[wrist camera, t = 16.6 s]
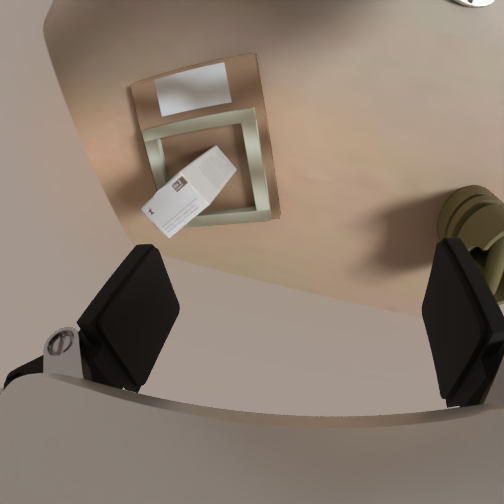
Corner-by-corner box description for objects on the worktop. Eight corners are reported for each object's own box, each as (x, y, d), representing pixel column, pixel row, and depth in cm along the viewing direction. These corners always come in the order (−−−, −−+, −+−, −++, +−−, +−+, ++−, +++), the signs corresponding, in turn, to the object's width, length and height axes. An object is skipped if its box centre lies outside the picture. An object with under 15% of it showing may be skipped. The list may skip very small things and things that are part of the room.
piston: (549, 226, 22) (523, 301, 27) (503, 186, 32) (489, 252, 37) (483, 226, 24) (459, 310, 30) (442, 184, 34) (432, 255, 40)
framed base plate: (135, 83, 33) (124, 85, 31) (255, 53, 30) (251, 51, 27) (171, 222, 44) (163, 232, 42) (280, 213, 41) (278, 224, 38)
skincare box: (204, 196, 39) (169, 243, 29) (182, 170, 38) (137, 210, 28) (239, 168, 36) (212, 209, 26) (216, 140, 35) (178, 171, 25)
